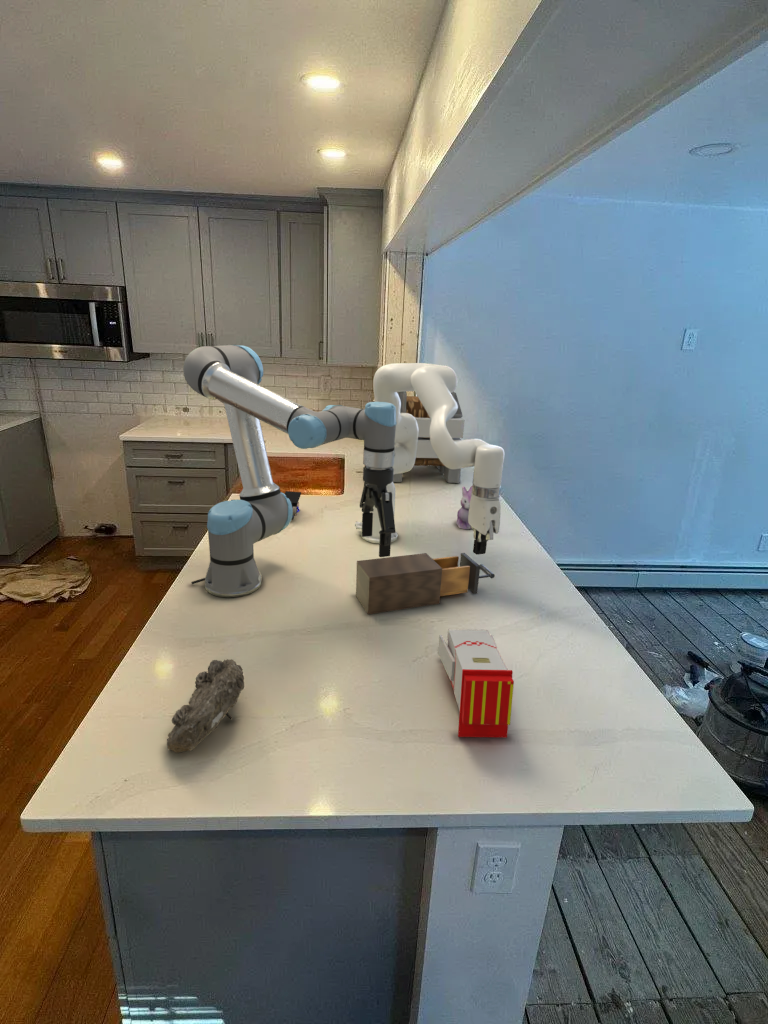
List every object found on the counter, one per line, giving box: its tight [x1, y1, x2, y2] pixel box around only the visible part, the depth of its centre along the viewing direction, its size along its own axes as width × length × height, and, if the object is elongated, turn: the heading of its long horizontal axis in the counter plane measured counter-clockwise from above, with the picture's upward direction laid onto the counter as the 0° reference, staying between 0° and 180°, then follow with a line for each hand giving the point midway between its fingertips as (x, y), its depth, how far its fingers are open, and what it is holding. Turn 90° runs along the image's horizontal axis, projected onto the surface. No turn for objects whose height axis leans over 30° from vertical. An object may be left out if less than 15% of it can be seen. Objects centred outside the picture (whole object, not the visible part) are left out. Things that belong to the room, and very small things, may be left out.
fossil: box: [166, 658, 245, 754], centre depth 106 cm, size 22×10×15 cm
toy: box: [437, 628, 515, 738], centre depth 117 cm, size 12×13×30 cm
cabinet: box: [355, 552, 442, 615], centre depth 153 cm, size 20×10×10 cm, turn 110°
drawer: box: [432, 552, 496, 597], centre depth 158 cm, size 25×9×9 cm, turn 110°
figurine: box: [455, 485, 472, 530], centre depth 208 cm, size 9×10×15 cm
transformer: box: [393, 390, 465, 484], centre depth 268 cm, size 34×33×41 cm
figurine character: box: [284, 490, 302, 521], centre depth 211 cm, size 7×8×15 cm
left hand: (375, 545), depth 147 cm, fingers open, 13 cm apart
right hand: (479, 553), depth 159 cm, fingers closed
